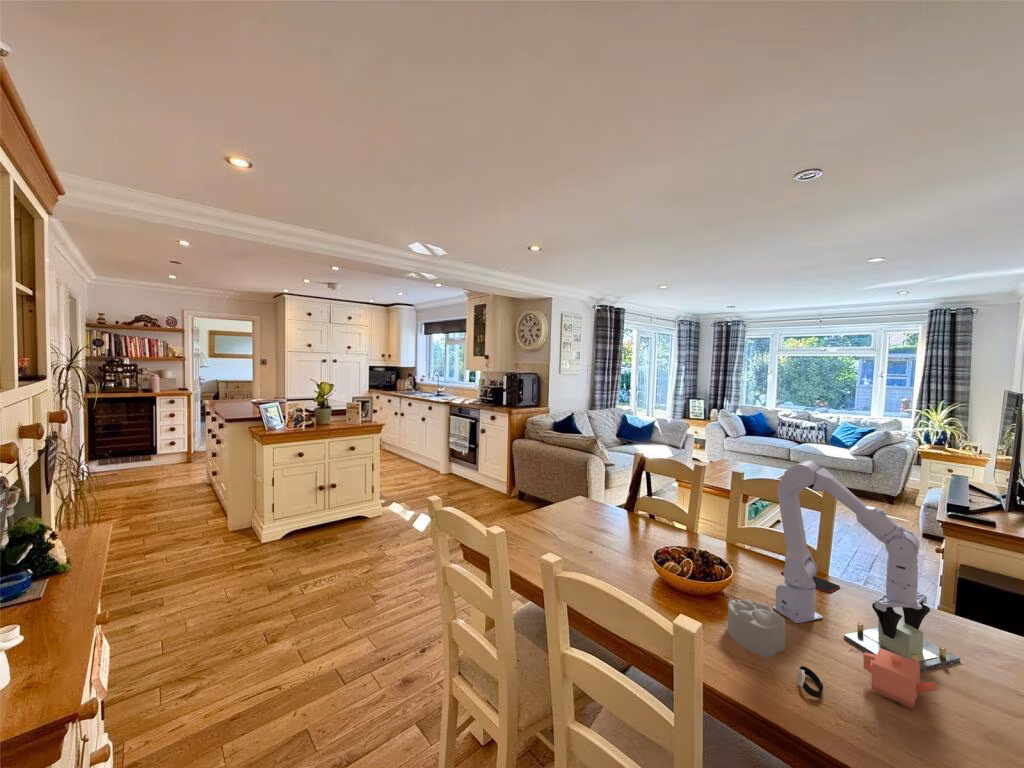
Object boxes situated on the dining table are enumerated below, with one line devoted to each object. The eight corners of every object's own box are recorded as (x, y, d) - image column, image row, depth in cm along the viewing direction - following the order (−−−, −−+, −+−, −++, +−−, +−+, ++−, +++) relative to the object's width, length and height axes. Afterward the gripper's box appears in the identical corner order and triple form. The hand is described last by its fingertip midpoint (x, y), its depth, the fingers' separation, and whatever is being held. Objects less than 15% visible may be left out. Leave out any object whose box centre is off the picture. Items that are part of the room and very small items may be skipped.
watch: (793, 673, 99) (793, 658, 99) (817, 678, 97) (817, 663, 97) (801, 697, 92) (802, 680, 92) (827, 703, 90) (828, 686, 90)
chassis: (904, 675, 98) (905, 661, 98) (843, 638, 111) (844, 625, 111) (960, 661, 102) (960, 647, 102) (894, 627, 116) (895, 614, 116)
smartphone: (791, 567, 149) (841, 586, 136) (791, 569, 149) (841, 589, 136) (779, 572, 146) (829, 592, 133) (779, 575, 146) (829, 595, 133)
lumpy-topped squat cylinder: (765, 660, 103) (766, 625, 103) (717, 631, 115) (718, 599, 114) (790, 647, 108) (791, 613, 108) (742, 620, 120) (742, 590, 119)
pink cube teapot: (935, 723, 85) (936, 683, 84) (859, 689, 94) (860, 652, 94) (940, 703, 90) (941, 666, 89) (867, 672, 99) (868, 638, 99)
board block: (908, 655, 103) (909, 635, 103) (877, 637, 110) (878, 618, 109) (922, 652, 104) (923, 632, 104) (891, 635, 111) (891, 616, 110)
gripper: (898, 592, 100) (896, 648, 101) (942, 584, 104) (940, 638, 104) (866, 578, 107) (865, 630, 108) (908, 571, 111) (907, 622, 111)
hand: (900, 633), depth 107 cm, fingers open, 7 cm apart
